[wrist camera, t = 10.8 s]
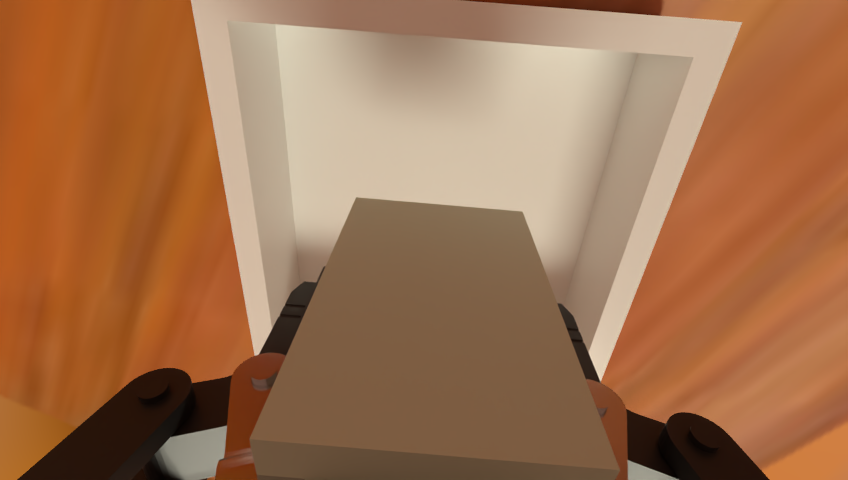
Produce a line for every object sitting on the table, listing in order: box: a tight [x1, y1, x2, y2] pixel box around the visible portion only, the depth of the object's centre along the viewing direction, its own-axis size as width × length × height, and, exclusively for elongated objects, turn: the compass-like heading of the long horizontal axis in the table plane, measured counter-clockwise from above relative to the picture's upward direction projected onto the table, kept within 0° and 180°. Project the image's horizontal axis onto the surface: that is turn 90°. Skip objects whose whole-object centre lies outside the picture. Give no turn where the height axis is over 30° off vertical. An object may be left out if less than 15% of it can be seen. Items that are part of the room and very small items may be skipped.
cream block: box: [249, 197, 620, 480], centre depth 10 cm, size 5×5×8 cm
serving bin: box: [191, 0, 742, 382], centre depth 18 cm, size 16×16×5 cm
